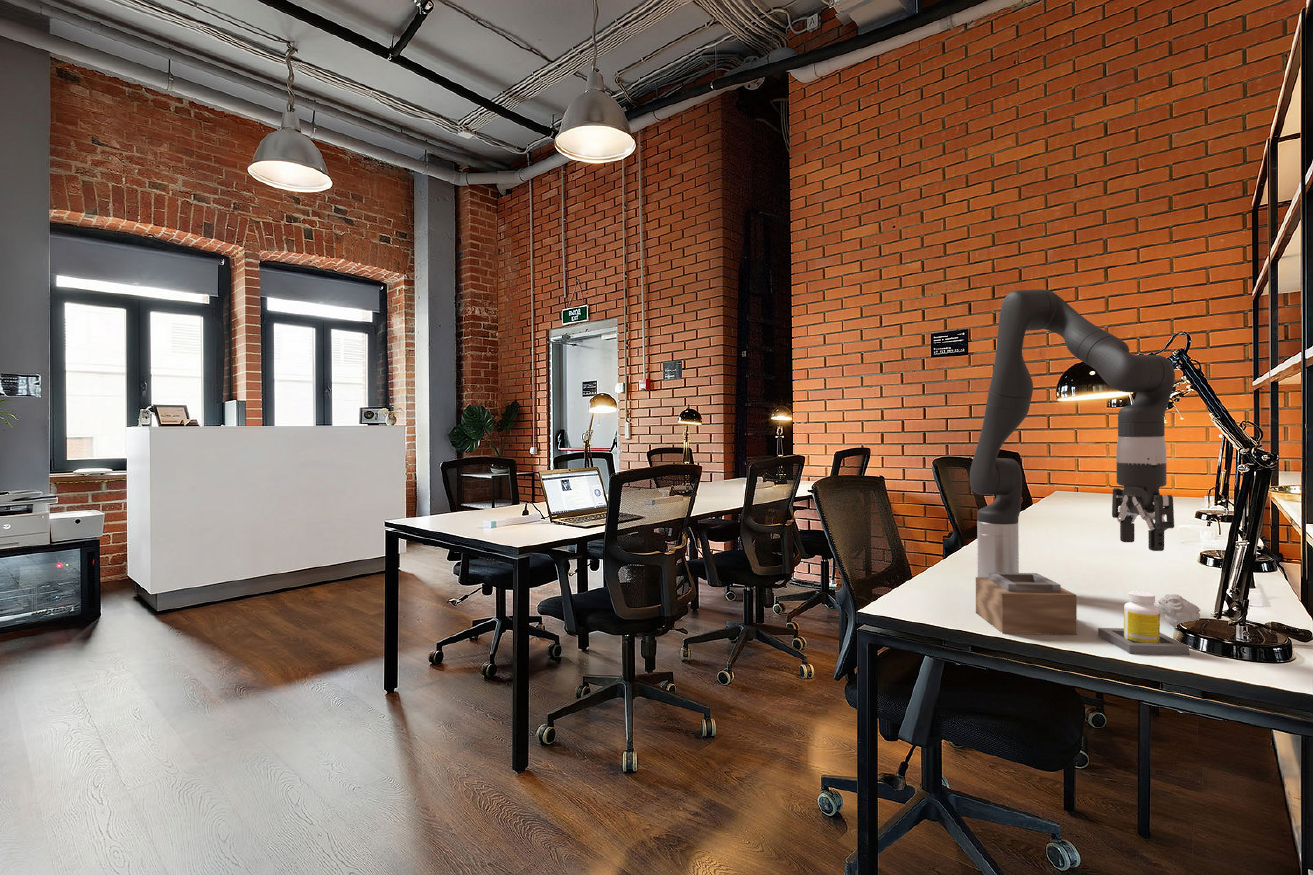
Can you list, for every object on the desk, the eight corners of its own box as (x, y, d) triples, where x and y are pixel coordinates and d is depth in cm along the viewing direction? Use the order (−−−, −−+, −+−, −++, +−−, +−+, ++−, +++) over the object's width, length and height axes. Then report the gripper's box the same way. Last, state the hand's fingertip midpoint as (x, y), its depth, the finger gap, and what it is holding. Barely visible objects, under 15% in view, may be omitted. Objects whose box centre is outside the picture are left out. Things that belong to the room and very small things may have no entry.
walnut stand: (975, 612, 142) (975, 570, 142) (1042, 613, 140) (1042, 571, 140) (1002, 633, 128) (1002, 586, 128) (1076, 634, 126) (1076, 587, 126)
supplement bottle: (1166, 650, 117) (1166, 597, 117) (1133, 648, 118) (1133, 596, 118) (1149, 640, 123) (1149, 590, 122) (1118, 639, 124) (1118, 589, 123)
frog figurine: (1152, 623, 133) (1152, 590, 133) (1192, 626, 131) (1192, 592, 131) (1165, 632, 127) (1165, 597, 127) (1207, 635, 125) (1207, 600, 125)
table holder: (1098, 635, 126) (1098, 627, 126) (1152, 636, 125) (1152, 628, 125) (1129, 653, 116) (1129, 645, 116) (1189, 654, 115) (1189, 646, 115)
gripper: (1097, 459, 127) (1098, 539, 128) (1143, 463, 113) (1144, 553, 113) (1138, 458, 126) (1138, 539, 127) (1189, 462, 112) (1190, 553, 113)
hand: (1141, 546), depth 120 cm, fingers open, 8 cm apart
